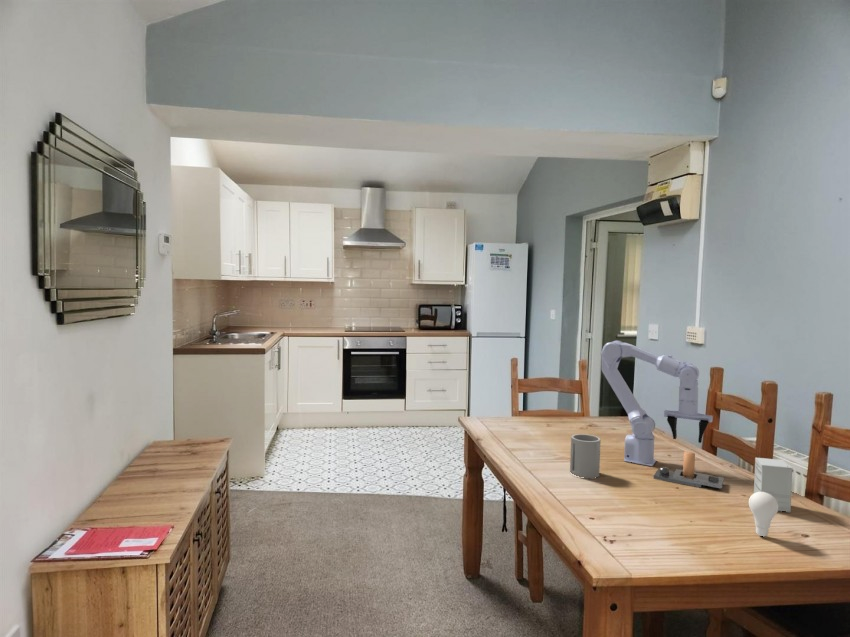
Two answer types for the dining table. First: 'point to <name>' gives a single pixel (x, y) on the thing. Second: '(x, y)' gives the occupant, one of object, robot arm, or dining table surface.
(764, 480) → the supplement box
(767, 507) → the lightbulb
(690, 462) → the pin
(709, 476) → the grey flat plate
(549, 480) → the dining table surface
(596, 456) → the cup
